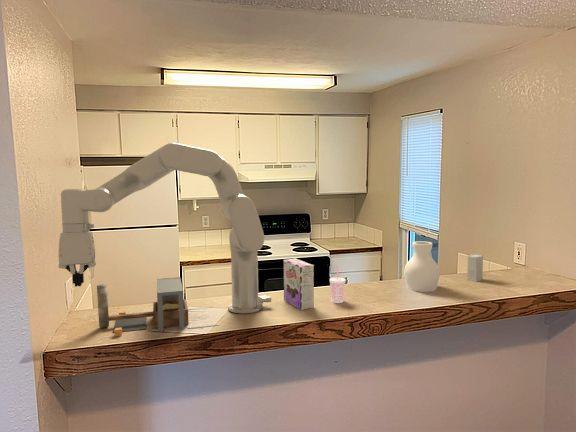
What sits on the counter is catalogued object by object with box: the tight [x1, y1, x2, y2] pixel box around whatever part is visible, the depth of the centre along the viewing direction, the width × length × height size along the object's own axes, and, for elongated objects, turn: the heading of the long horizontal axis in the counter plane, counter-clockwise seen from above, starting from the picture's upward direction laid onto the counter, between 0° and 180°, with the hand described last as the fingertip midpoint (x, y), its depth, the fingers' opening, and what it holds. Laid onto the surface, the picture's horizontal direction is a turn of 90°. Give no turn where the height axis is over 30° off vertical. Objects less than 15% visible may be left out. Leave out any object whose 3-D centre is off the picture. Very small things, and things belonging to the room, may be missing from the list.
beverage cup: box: [329, 265, 346, 304], centre depth 166 cm, size 6×6×14 cm
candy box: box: [282, 258, 315, 311], centre depth 164 cm, size 14×6×16 cm, turn 27°
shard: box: [157, 304, 179, 312], centre depth 147 cm, size 11×8×2 cm
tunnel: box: [111, 276, 220, 337], centre depth 148 cm, size 33×20×12 cm, turn 107°
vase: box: [403, 240, 441, 293], centre depth 182 cm, size 14×14×20 cm
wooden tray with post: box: [96, 283, 190, 329], centre depth 146 cm, size 28×12×14 cm, turn 107°
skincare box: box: [466, 253, 484, 283], centre depth 193 cm, size 6×4×12 cm
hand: (78, 285), depth 139 cm, fingers closed
